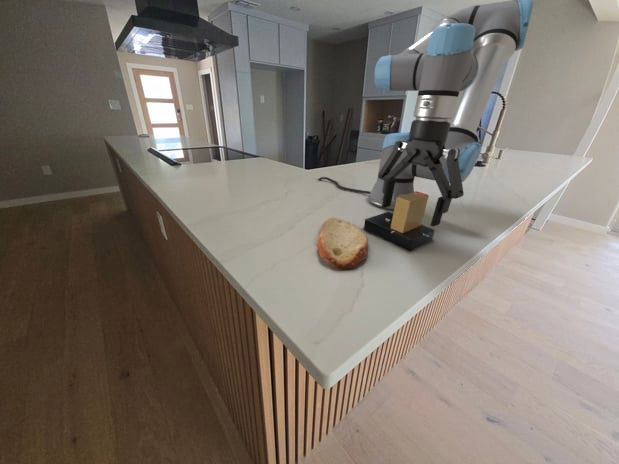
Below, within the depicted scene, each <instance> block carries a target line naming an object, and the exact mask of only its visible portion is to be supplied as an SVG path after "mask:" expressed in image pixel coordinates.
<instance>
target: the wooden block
mask: <svg viewBox="0 0 619 464" xmlns="http://www.w3.org/2000/svg"><path fill="white" fill-rule="evenodd" d="M429 197H430V196H429V194H428V193H427V194H426V193H423V192H420V191H417V190H416V191H415V190H414V193H410V194H407V195H403V196H400V197H397V199H396V204H395V209H394V210H393V218H392V223H391V229H394V230H396V231H398V232H401V233H405V232H407V231H410V230H412V229H414V228H417V227H419V226H421V225H422V222H423V219H424V215H425V212H426V208H427V204H428V201H429Z"/></svg>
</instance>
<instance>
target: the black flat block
mask: <svg viewBox="0 0 619 464" xmlns="http://www.w3.org/2000/svg"><path fill="white" fill-rule="evenodd" d="M393 214H394V212H390V211H386V212H383V213H379V214H377V215H374V216H370V217H368V218H364V225H363V230H364V231H367V232H368V233H370V234H372V235H375V236H377V237H379V238H380V239H383V240H385V241H387V242H389V243H391V244H393V245H395V246H397V247H399V248H402V249H403V250H406V251H408V252H412V251H414V250H416V249H418V248H419V247H421V246H424V245H426V244H427V243H429V242H431V241H432V240H433V237H434V234H435V232H436V229H434V228H432V227H429V226H426V225H424V224H421V226H419V227H417V228H414V229H412V230H410V231H407V232H405V233H401V232H398V231H396V230H394V229H391V223H392V218H393Z"/></svg>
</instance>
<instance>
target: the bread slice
mask: <svg viewBox="0 0 619 464" xmlns="http://www.w3.org/2000/svg"><path fill="white" fill-rule="evenodd" d="M368 244H369V239H368V237H367V235H366V233H365V232H362V230H360V228H359V227H357V225H355V224H353V223H351V222H349V221H346V220H345V219H341V218H336V217H327V218H326V220H324V222H323V224H322V227H321V230H320V232H319V235H318V238H317V243H316V246H317V251H318V254H319V256H320V257H321V259H322V260H323V261H324V262H326V263H327V264H328V265H330V266H332V267H334V269H336V270H350V269H354V268H355V267H356V266H357V265H358V264H359V263H360V262H362V261H364V260H365V259H366V258H367V257H368V256H367V255H368V254H369V245H368Z"/></svg>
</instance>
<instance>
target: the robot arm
mask: <svg viewBox="0 0 619 464" xmlns="http://www.w3.org/2000/svg"><path fill="white" fill-rule="evenodd" d="M533 8H534V0H503V1H497V2H491V3H483V4H477V5H476V4H475V5H471V6H469V7H468V6H467V7H465V8H462V9H460V10H457V11H456V12H453V13H451V14H449V15H448V16H446V17H444V18H442V19H441V20H439V21H438V22H437V23H436V24H434V26H433V27H432V28H431V29H430V31H429V32H428V33H427V34H426V35H425V36H423V37H422V38H420V39H419V40H418V41H416V42H414V43H413V44H411V45H410V46H409V47H408V48H406V49H404V50H402V52H400V53H399V54H389V55H384V56H381V57H379V59H378V60H377V62H376V65H375V68H374V74H373V77H374V85H375V87H376V89H378V90H379V91H388V92H397V91H398V92H400V91H401V92H413V91H414V92H417V91H418V92H417V96H416V100H415V104H414V105H415V106H414V111H413V117H414V118H415V119H413V120H412V121H411V123H410V128H409V132H408V131H407V132H394V133H393V132H392V133H388V134H386V136H385V137H384V140H383V143H382V147H381V154H380V155H381V156H380V161H379V167H378V174H377V179H376V181H375V183H374V185H373V187H372V189H371V191H369V190H362V189H356V188H350V187H345V186H343V185H340V184H339V182H338V181H336V180H334V179H332V178H330V177H327V176H321V177H318V179H317V181H322V180H327V181H329V182H331V183H333V184H335V185H336V187H337V188H339V189H342V190H345V191H348V192H355V193H360V194H368V202H369V203H370V204H371V205H373V206H376V207H378V208H381V209H385V210H389V211H394V209H395V204H396V199H397V197H400V196H403V195H407V194H410V193H414V192H415V189H414V181H415V178H420V179H425V180H430V181H435V184H436V185H437V187H438V190H439V192H440V195H441V196H439V197H438V198H437V201H436V204H435V208H434V211H433V215H432V218H431V222H430V224H429V225H430V227H433V228H434V227H436V226H438V225H440V224H441V221H442V217H443V214H445V213H447V212H448V211H449V209H450V206H451V203H452V200H453V199H454V200H455V199H459V198H463V196H464V193H465V192H464V186H463V182H465V181H466V180H467V178H469V176H470V175H471V173H472V171H473V169H474V167H475V166H476V164H477V162H478V161H477V160H478V159H479V156H480V155H481V151H482V144H481V143H480V142H479V140H480V139H479V136H478V134H477V133H476V132H477V129H478V127H479V125H480V122H481V120H482V117H483V116H484V112H485V110H486V107H487V105H488V103H489V100H490V97H491V95H492V92H493V90H494V87H495V85H496V83H497V81H498V77H499V75H500V73H501V71H502V68H503V65H504V63H506V62H507V61H509V60H510V59H511V58H512V57H513V55H514V54H515V52H517V51H519V50H523V48H524V46H525V42H526V37H527V33H528V29H529V24H530V20H531V17H532V12H533Z"/></svg>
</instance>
